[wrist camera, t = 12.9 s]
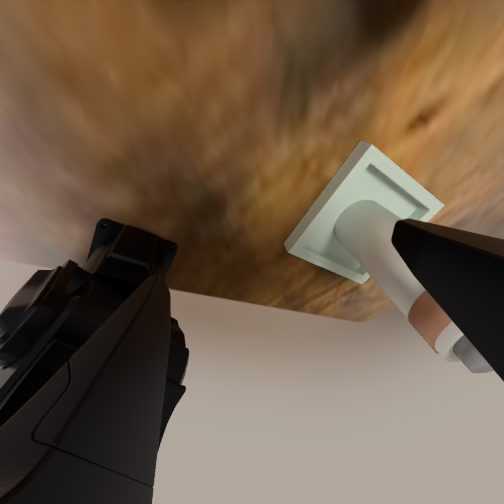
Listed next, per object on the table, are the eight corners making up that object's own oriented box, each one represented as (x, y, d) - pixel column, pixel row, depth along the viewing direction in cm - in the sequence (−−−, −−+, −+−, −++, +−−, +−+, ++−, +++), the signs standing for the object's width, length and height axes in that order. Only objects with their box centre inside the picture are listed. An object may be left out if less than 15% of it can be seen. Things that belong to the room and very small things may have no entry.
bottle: (359, 250, 25) (486, 382, 14) (323, 236, 23) (436, 375, 12) (394, 210, 23) (582, 328, 11) (356, 190, 21) (538, 308, 9)
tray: (354, 275, 28) (361, 284, 27) (283, 243, 23) (287, 252, 22) (431, 198, 23) (444, 205, 22) (360, 140, 19) (371, 144, 17)
